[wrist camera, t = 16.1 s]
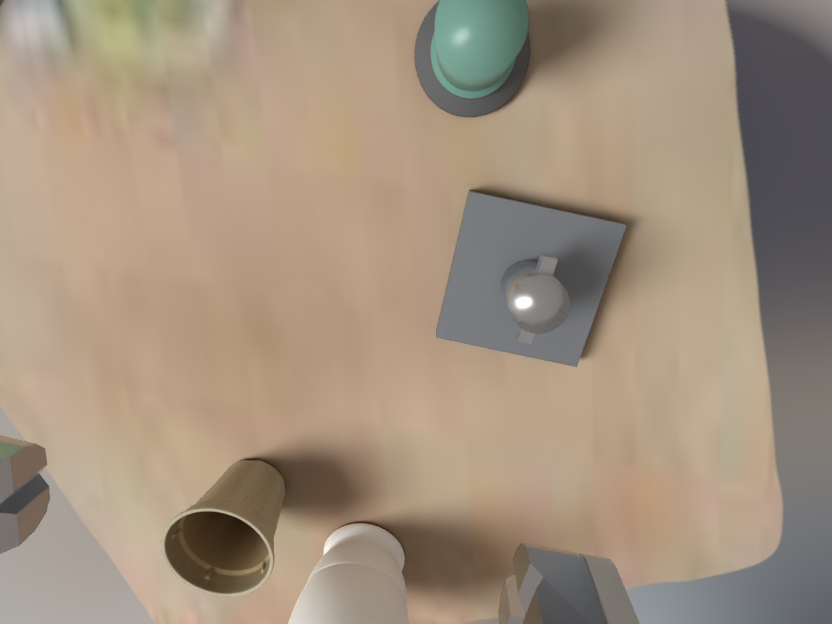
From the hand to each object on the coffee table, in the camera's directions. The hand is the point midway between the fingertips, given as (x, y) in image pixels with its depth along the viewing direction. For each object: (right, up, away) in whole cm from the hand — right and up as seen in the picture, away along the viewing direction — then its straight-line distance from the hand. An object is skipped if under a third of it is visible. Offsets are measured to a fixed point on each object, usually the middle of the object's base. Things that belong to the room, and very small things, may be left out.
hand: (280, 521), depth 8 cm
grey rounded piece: (+11, +6, +29) cm, 31 cm away
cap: (+6, +22, +24) cm, 33 cm away
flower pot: (-14, -14, +39) cm, 43 cm away
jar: (-3, -22, +41) cm, 46 cm away
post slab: (+11, +6, +30) cm, 33 cm away
